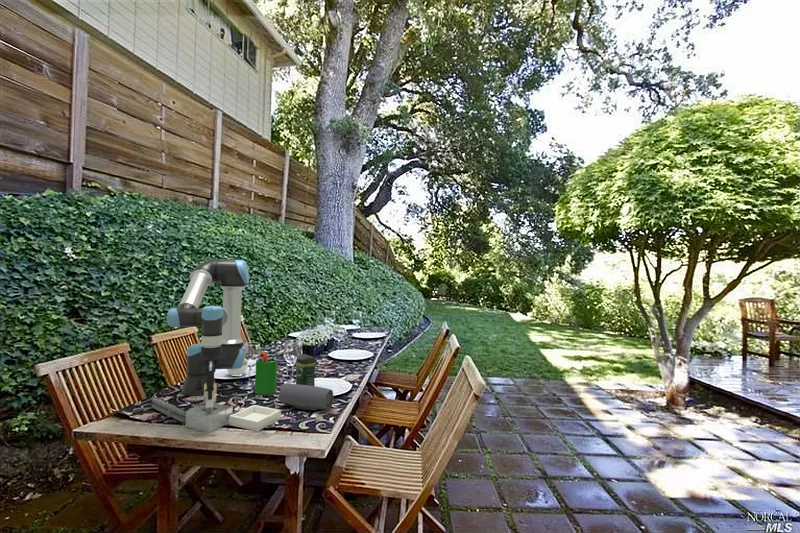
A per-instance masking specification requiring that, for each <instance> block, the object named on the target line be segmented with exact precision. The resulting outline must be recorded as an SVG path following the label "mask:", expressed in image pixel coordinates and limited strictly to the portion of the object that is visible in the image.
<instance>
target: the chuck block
mask: <svg viewBox="0 0 800 533" xmlns="http://www.w3.org/2000/svg"><path fill="white" fill-rule="evenodd" d="M185 412H186V416H185V418H186V421H185V428H187V429H191V430H192V429H193V430H197V431H200V432H205V433H211V432H214V431H216V430H218V429H219V428H222V427H223V426H226V425H229V416H230V415H232V414H234V412H233V406H229V405H225V404H220V403H216V402H214V410H213V411H211V412H208V411H205V403H204V404H202V405H200V406H197V407H194V408H191V409H189V410H186V411H185Z"/></svg>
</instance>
